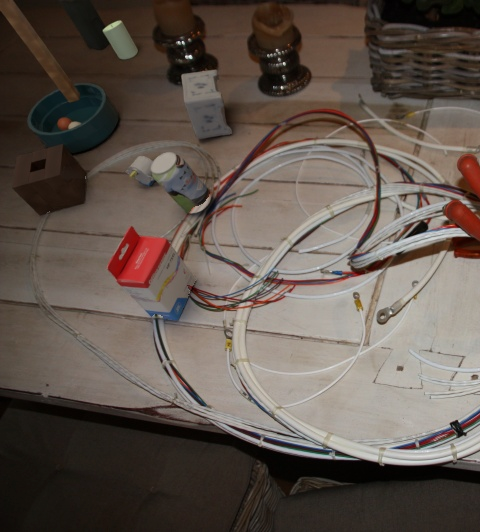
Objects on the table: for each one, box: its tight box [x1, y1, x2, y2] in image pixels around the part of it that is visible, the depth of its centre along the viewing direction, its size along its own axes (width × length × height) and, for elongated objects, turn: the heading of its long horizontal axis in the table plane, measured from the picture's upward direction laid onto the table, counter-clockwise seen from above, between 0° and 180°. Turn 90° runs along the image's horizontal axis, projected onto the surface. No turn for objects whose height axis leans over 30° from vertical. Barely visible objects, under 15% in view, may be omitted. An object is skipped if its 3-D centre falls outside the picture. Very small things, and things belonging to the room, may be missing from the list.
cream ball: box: [68, 122, 81, 129], centre depth 116 cm, size 3×3×3 cm
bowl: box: [26, 82, 119, 154], centre depth 117 cm, size 16×16×6 cm
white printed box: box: [181, 69, 233, 140], centre depth 112 cm, size 10×8×10 cm
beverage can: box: [151, 151, 211, 214], centre depth 98 cm, size 6×7×12 cm
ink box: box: [106, 225, 197, 321], centre depth 86 cm, size 8×5×15 cm, turn 170°
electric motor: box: [124, 155, 156, 187], centre depth 106 cm, size 7×5×5 cm
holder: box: [11, 144, 87, 216], centre depth 105 cm, size 9×9×8 cm
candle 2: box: [103, 20, 139, 60], centre depth 131 cm, size 5×5×8 cm
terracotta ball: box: [57, 117, 72, 131], centre depth 118 cm, size 3×3×3 cm
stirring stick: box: [0, 0, 80, 102], centre depth 104 cm, size 2×2×28 cm
